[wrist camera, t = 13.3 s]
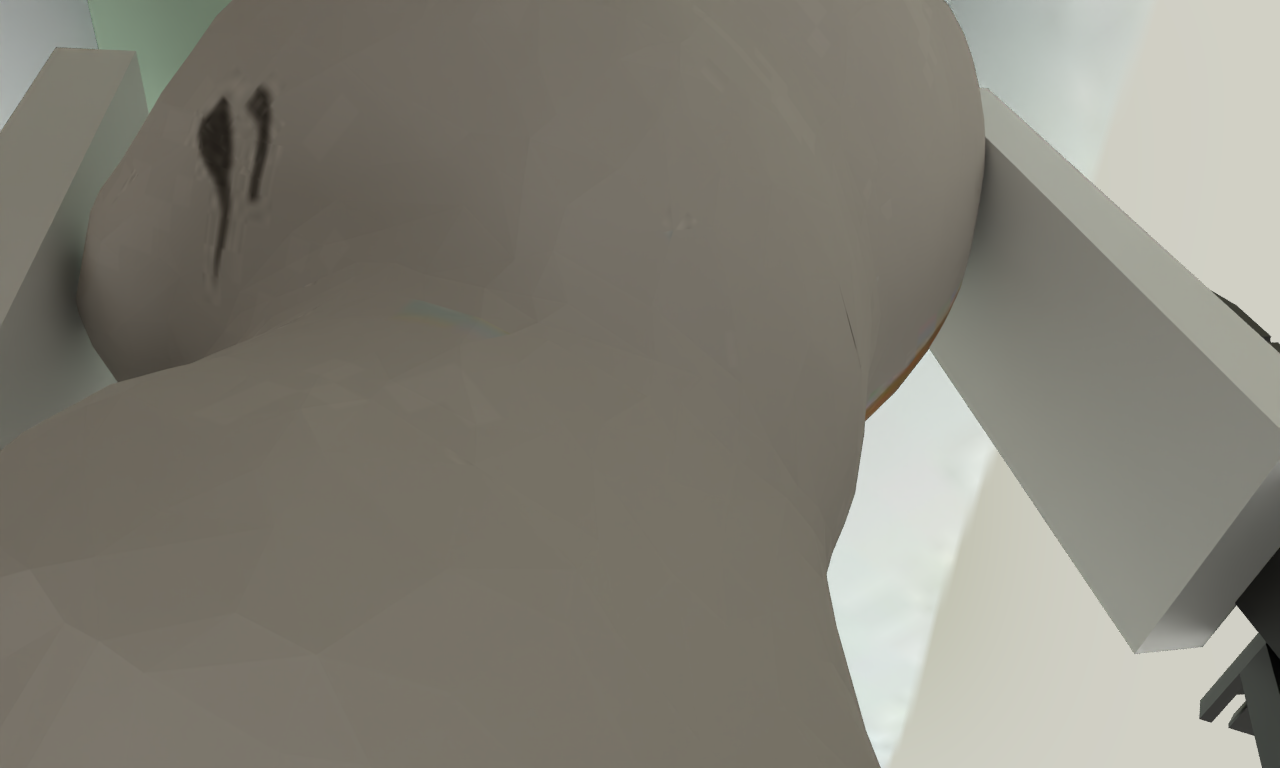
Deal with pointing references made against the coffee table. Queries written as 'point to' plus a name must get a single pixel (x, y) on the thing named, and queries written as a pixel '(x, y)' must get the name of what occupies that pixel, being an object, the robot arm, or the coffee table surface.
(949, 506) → the coffee table surface
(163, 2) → the pad
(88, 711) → the figurine
